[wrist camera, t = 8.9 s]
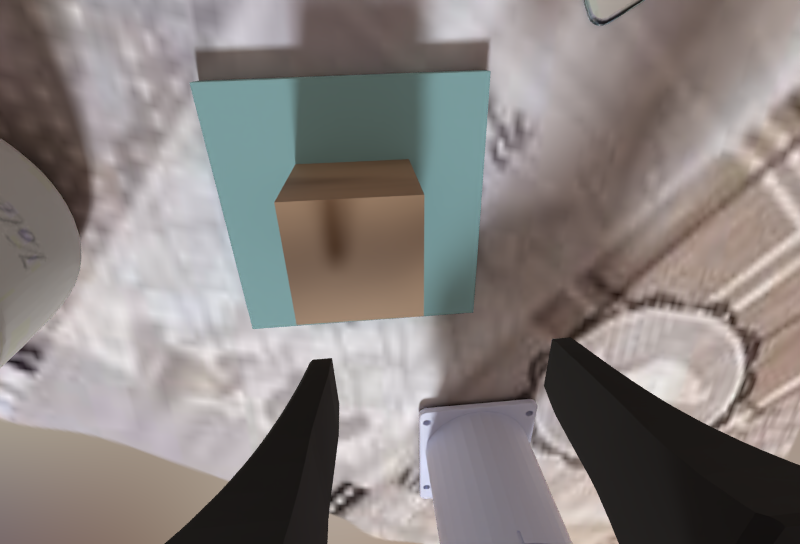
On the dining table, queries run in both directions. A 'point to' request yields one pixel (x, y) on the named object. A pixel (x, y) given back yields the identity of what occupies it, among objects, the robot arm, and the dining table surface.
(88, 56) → the dining table surface
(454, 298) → the teal square plate
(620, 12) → the smartphone
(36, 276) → the teacup
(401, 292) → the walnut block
